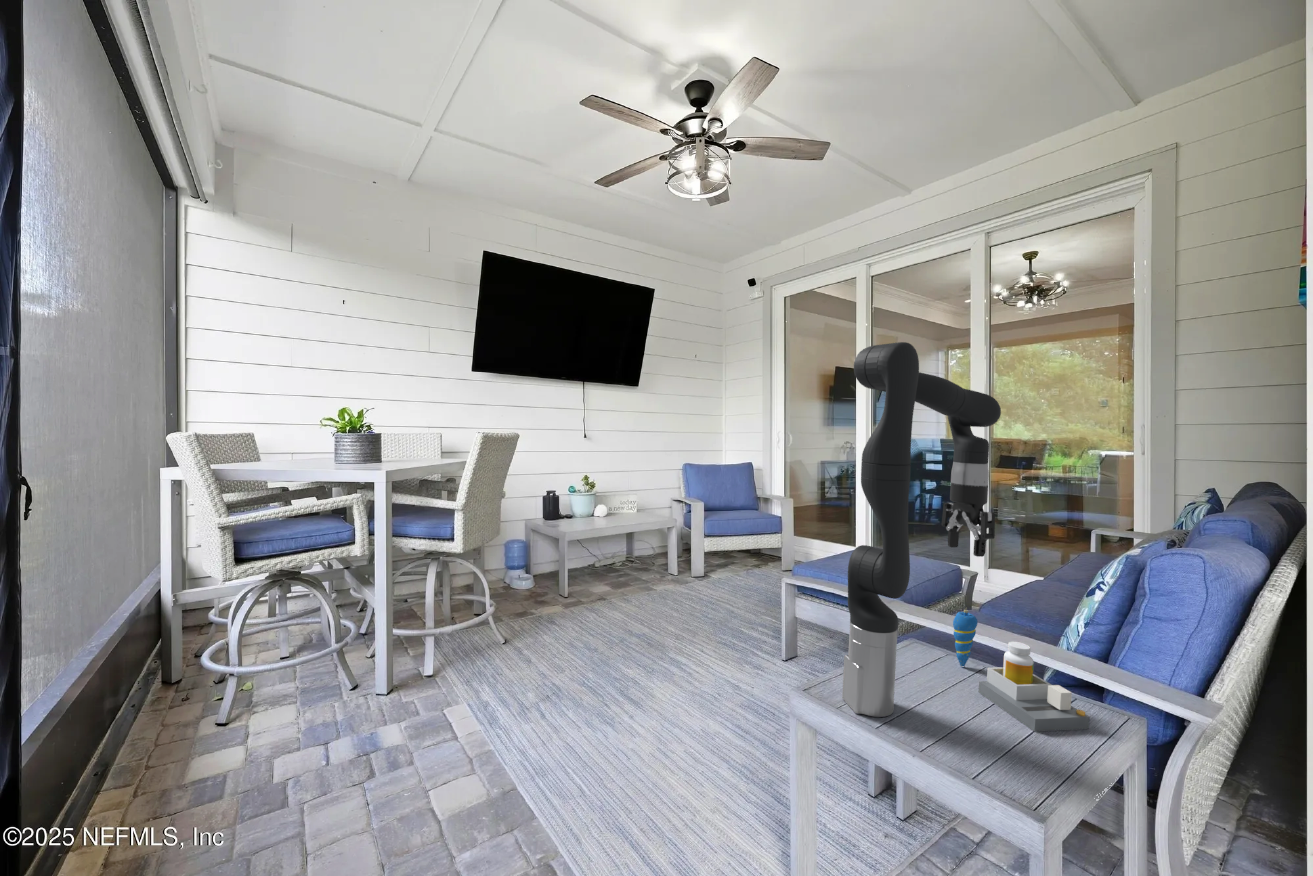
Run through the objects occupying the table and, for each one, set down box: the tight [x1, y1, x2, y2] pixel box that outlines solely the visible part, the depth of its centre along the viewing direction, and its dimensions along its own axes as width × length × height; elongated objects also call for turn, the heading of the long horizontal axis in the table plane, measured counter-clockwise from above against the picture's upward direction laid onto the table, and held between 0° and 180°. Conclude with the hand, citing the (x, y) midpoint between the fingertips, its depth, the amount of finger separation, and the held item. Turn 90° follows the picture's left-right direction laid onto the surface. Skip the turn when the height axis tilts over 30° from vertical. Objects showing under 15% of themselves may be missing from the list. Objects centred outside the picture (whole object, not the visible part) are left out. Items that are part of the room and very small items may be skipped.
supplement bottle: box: [1002, 641, 1035, 685], centre depth 116 cm, size 5×5×10 cm
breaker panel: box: [978, 666, 1090, 733], centre depth 112 cm, size 12×15×6 cm
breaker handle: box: [1047, 684, 1073, 710], centre depth 109 cm, size 2×3×4 cm
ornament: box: [952, 607, 978, 667], centre depth 131 cm, size 5×5×15 cm
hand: (965, 551), depth 124 cm, fingers open, 8 cm apart
